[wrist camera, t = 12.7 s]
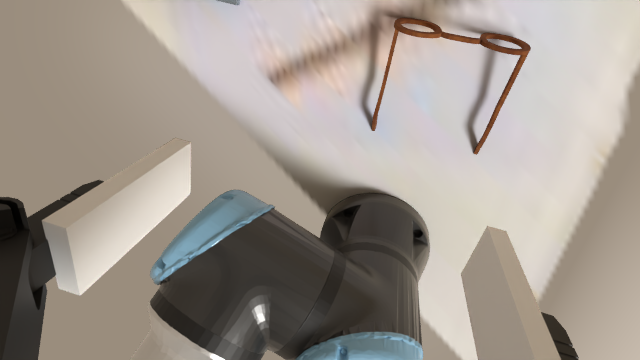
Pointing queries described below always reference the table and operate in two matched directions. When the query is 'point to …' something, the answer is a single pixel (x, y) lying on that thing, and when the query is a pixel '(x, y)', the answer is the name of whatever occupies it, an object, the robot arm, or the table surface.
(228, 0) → the bridge base
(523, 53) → the glasses
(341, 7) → the table surface
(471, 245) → the table surface
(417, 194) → the table surface
